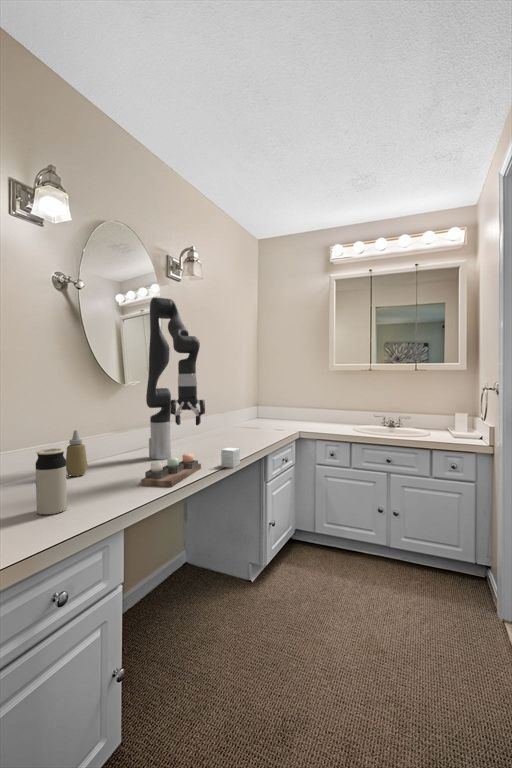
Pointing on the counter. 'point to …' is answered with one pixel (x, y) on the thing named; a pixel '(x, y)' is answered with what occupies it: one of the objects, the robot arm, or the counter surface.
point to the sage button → (173, 462)
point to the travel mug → (51, 481)
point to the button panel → (170, 474)
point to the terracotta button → (187, 458)
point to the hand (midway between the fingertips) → (188, 424)
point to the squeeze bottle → (76, 456)
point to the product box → (230, 457)
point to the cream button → (157, 467)
